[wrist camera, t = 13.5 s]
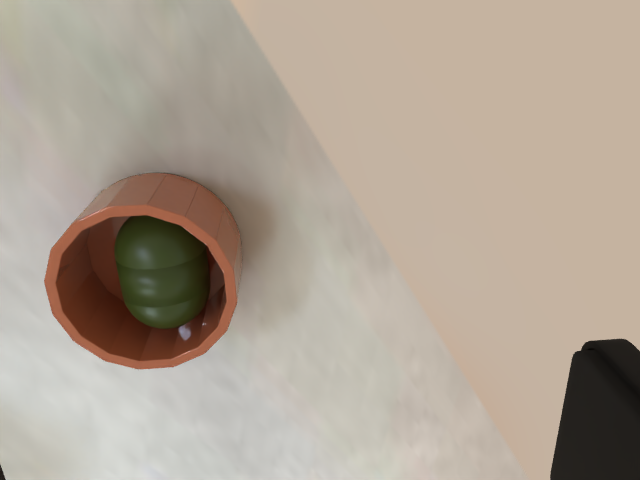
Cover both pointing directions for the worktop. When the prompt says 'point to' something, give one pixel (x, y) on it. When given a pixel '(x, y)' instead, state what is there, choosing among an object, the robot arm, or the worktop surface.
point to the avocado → (161, 271)
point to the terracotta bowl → (103, 281)
